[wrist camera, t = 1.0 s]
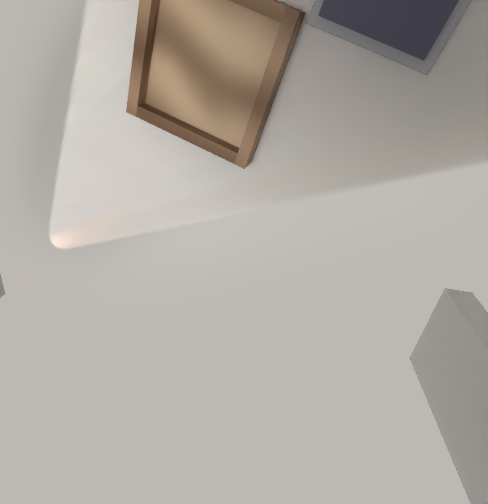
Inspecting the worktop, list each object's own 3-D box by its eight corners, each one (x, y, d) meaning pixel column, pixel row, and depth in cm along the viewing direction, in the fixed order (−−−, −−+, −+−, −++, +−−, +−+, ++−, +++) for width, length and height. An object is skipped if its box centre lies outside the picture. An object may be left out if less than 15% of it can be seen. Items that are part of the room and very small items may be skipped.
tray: (158, -50, 27) (145, -54, 25) (305, 12, 26) (299, 11, 24) (137, 108, 34) (126, 111, 33) (250, 162, 33) (244, 168, 31)
